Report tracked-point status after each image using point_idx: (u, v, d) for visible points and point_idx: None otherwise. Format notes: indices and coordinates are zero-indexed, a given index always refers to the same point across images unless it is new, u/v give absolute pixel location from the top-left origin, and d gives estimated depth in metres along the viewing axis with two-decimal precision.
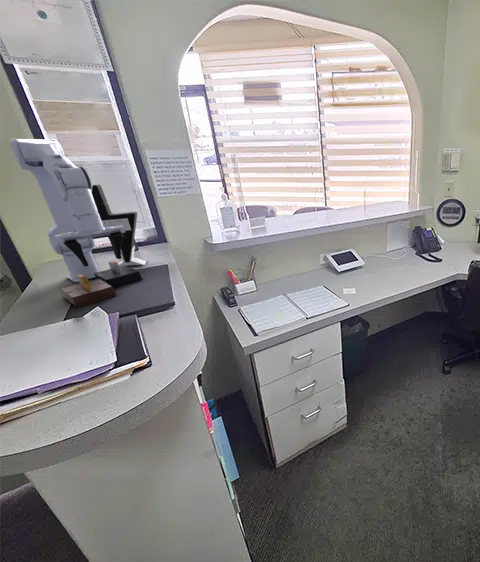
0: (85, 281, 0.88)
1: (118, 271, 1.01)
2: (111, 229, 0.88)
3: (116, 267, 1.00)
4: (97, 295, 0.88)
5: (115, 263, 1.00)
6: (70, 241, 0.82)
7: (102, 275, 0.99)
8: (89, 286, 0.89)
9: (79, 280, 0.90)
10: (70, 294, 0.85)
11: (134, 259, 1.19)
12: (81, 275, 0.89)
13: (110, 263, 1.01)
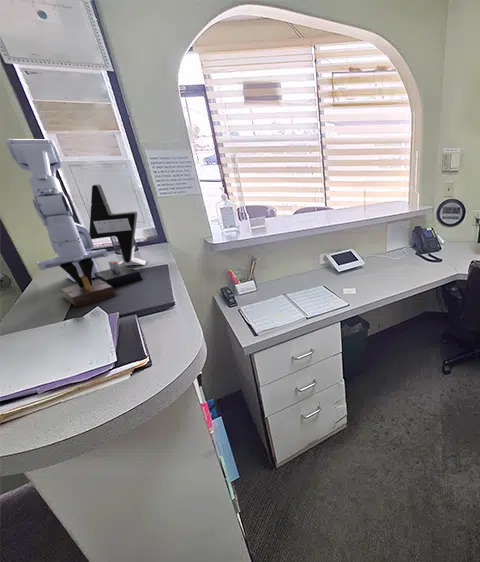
0: (85, 281, 0.88)
1: (118, 271, 1.01)
2: (93, 254, 0.89)
3: (116, 267, 1.00)
4: (97, 295, 0.88)
5: (115, 263, 1.00)
6: (66, 264, 0.85)
7: (102, 275, 0.99)
8: (89, 286, 0.89)
9: None
10: (70, 294, 0.85)
11: (134, 259, 1.19)
12: (81, 275, 0.89)
13: (110, 263, 1.01)
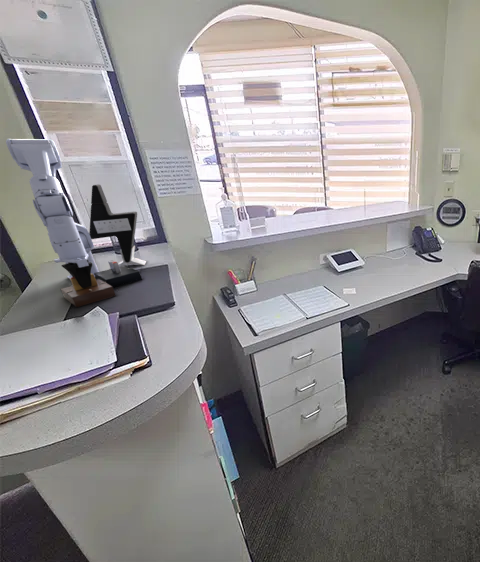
0: None
1: (118, 271, 1.01)
2: (69, 261, 0.83)
3: (116, 267, 1.00)
4: (97, 295, 0.88)
5: (115, 263, 1.00)
6: None
7: (102, 275, 0.99)
8: (74, 288, 0.88)
9: None
10: (70, 294, 0.85)
11: (134, 259, 1.19)
12: None
13: (110, 263, 1.01)
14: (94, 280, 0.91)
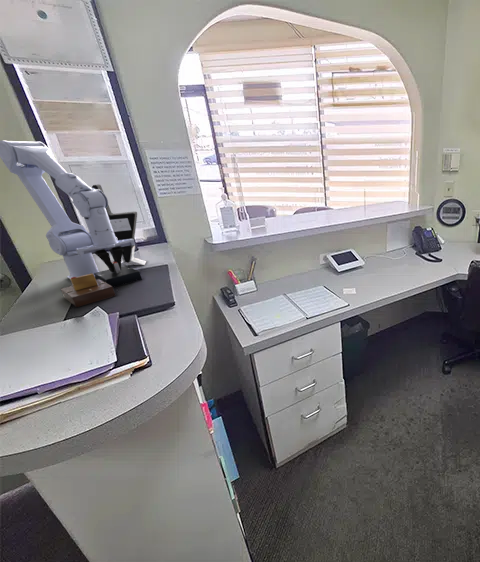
0: None
1: (118, 271, 1.01)
2: (123, 242, 1.01)
3: (116, 267, 1.00)
4: (97, 295, 0.88)
5: (115, 263, 1.00)
6: (100, 251, 0.97)
7: (102, 275, 0.99)
8: (74, 288, 0.88)
9: None
10: (70, 294, 0.85)
11: (134, 259, 1.19)
12: (85, 275, 0.89)
13: None
14: (94, 280, 0.91)
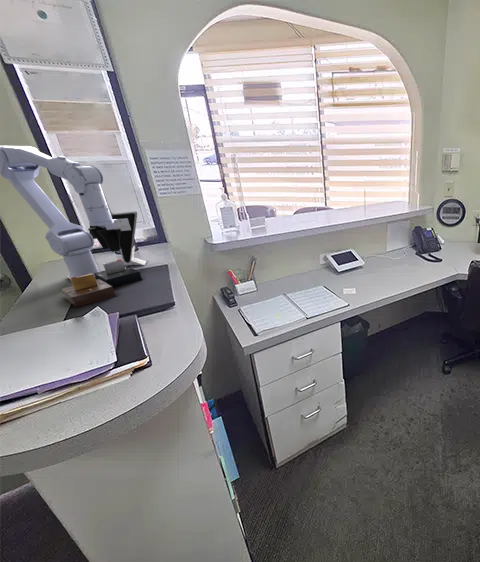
0: None
1: (124, 268, 1.04)
2: None
3: None
4: (97, 295, 0.88)
5: (121, 260, 1.03)
6: None
7: (102, 275, 0.99)
8: (74, 288, 0.88)
9: None
10: (70, 294, 0.85)
11: (134, 259, 1.19)
12: (85, 275, 0.89)
13: (112, 263, 1.01)
14: (94, 280, 0.91)
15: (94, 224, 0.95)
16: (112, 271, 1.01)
